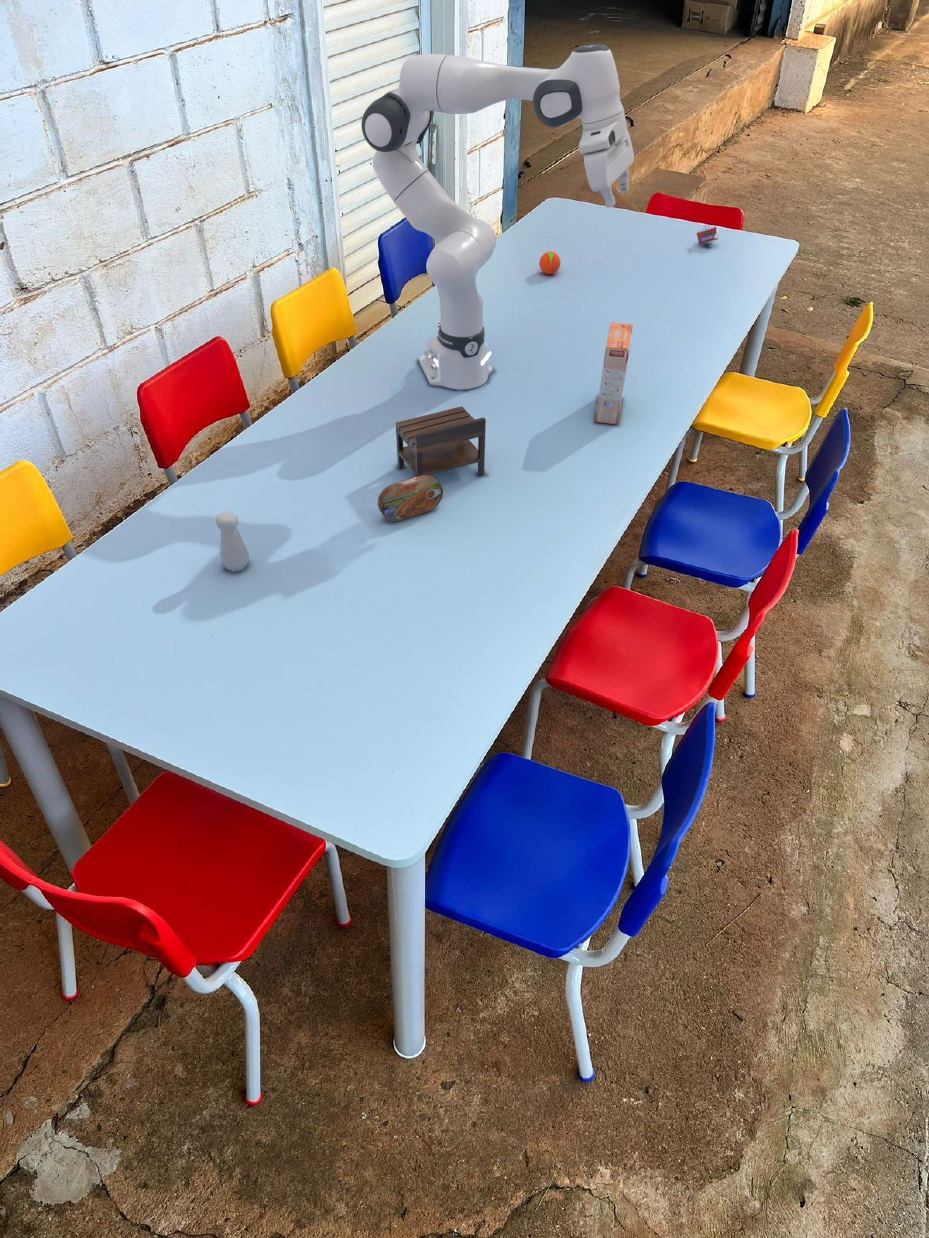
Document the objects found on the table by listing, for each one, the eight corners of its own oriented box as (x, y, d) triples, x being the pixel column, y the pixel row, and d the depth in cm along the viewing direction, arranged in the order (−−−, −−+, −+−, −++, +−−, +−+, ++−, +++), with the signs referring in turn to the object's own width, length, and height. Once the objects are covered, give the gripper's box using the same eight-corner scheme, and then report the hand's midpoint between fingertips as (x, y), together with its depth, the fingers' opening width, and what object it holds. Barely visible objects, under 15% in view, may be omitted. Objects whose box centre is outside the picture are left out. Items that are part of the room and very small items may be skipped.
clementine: (560, 279, 291) (562, 257, 286) (539, 279, 291) (540, 257, 286) (558, 269, 296) (560, 247, 291) (538, 269, 296) (539, 247, 291)
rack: (397, 466, 213) (394, 411, 202) (461, 449, 218) (462, 394, 208) (418, 493, 205) (416, 437, 194) (484, 475, 210) (485, 419, 200)
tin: (382, 526, 196) (380, 494, 190) (377, 518, 198) (374, 487, 192) (444, 507, 201) (443, 476, 195) (437, 500, 203) (437, 468, 197)
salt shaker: (237, 578, 183) (226, 528, 174) (216, 568, 185) (204, 518, 176) (256, 562, 187) (246, 512, 178) (235, 553, 189) (225, 503, 180)
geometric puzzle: (691, 241, 309) (709, 223, 304) (691, 234, 314) (708, 216, 309) (706, 255, 311) (724, 238, 306) (705, 247, 316) (723, 230, 311)
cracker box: (618, 426, 226) (629, 349, 212) (594, 423, 227) (604, 346, 213) (622, 398, 236) (633, 323, 222) (599, 395, 237) (609, 320, 223)
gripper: (607, 121, 197) (619, 187, 205) (575, 148, 184) (589, 217, 192) (634, 115, 194) (645, 181, 202) (604, 142, 181) (617, 212, 189)
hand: (618, 199), depth 197 cm, fingers open, 8 cm apart
